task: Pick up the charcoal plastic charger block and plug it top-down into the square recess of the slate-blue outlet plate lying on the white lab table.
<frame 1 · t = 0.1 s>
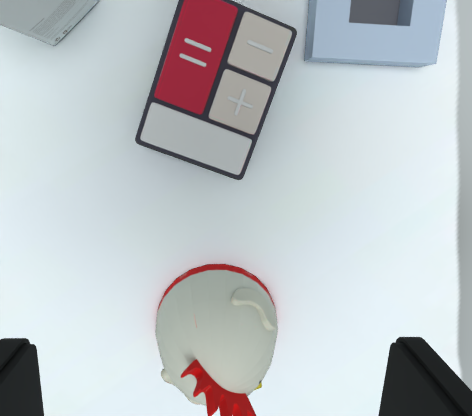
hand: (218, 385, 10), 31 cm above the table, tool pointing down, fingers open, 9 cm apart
calculator: (214, 89, 38), on the table
kitchen timer: (216, 316, 45), on the table
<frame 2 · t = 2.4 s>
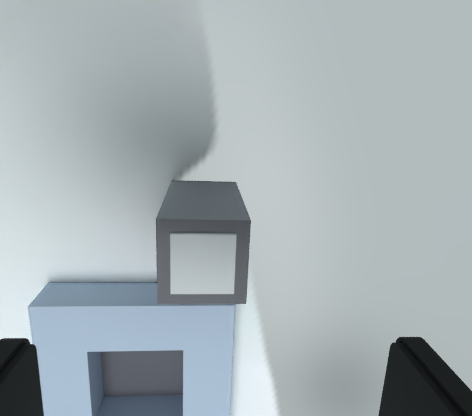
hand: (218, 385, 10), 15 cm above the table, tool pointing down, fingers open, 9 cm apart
charger: (203, 211, 24), on the table
outlet plate: (144, 358, 27), on the table
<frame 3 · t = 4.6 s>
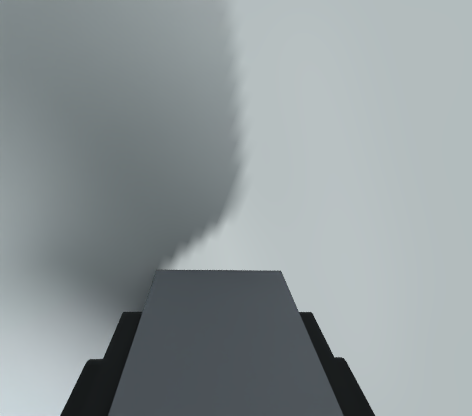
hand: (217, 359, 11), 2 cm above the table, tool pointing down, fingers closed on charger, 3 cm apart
charger: (217, 325, 13), on the table, touching gripper
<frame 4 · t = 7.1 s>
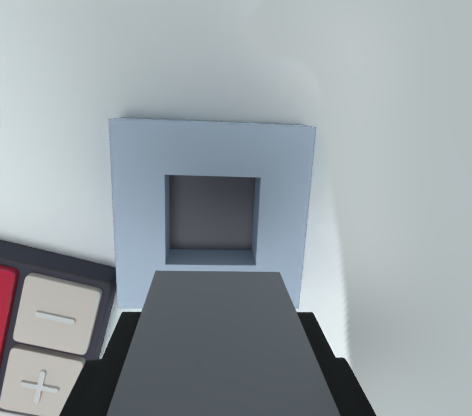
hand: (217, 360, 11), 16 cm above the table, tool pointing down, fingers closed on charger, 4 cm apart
charger: (216, 326, 13), point 14 cm above the table, touching gripper
calculator: (29, 335, 28), on the table
outlet plate: (211, 209, 26), on the table
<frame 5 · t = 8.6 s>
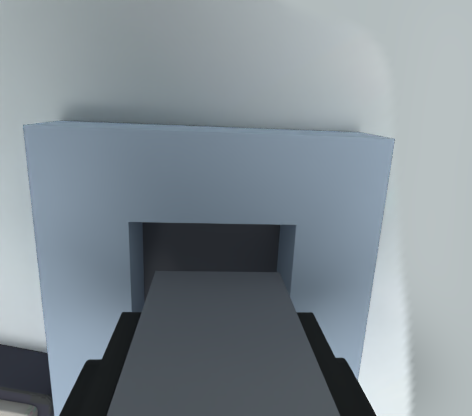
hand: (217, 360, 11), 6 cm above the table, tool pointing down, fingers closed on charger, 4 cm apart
charger: (216, 326, 13), point 4 cm above the table, touching gripper
outlet plate: (211, 264, 17), on the table
when the fingers open (4 cm above the table, at t = 9.8 s): charger drops 2 cm, resting on outlet plate.
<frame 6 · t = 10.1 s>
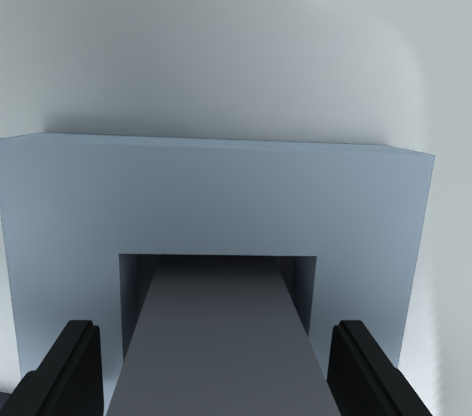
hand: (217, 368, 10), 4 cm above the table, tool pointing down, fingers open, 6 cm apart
charger: (216, 299, 14), resting on outlet plate
outlet plate: (215, 295, 15), on the table
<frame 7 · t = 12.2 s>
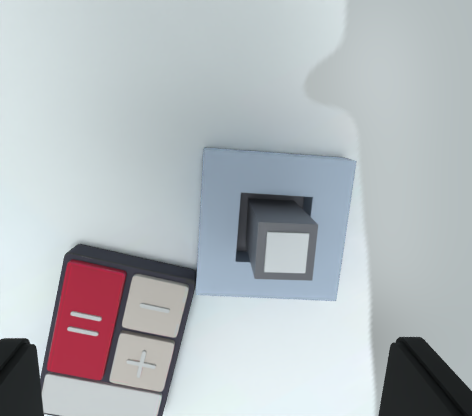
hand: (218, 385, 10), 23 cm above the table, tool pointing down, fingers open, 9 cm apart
charger: (269, 221, 33), resting on outlet plate
calculator: (123, 326, 35), on the table
outlet plate: (268, 220, 33), on the table
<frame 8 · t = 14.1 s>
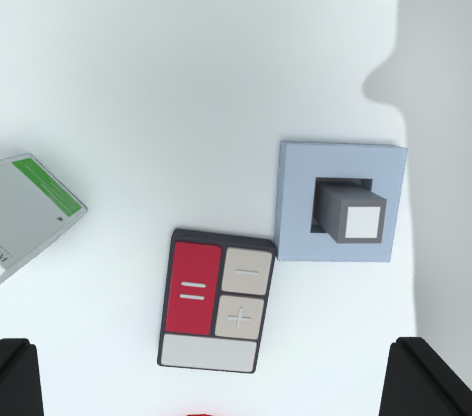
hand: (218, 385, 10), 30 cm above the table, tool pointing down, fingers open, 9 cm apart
charger: (332, 200, 40), resting on outlet plate
calculator: (214, 293, 43), on the table
outlet plate: (331, 199, 40), on the table
skincare box: (37, 200, 39), on the table
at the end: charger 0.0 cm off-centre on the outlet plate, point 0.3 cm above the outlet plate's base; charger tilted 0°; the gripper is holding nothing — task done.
